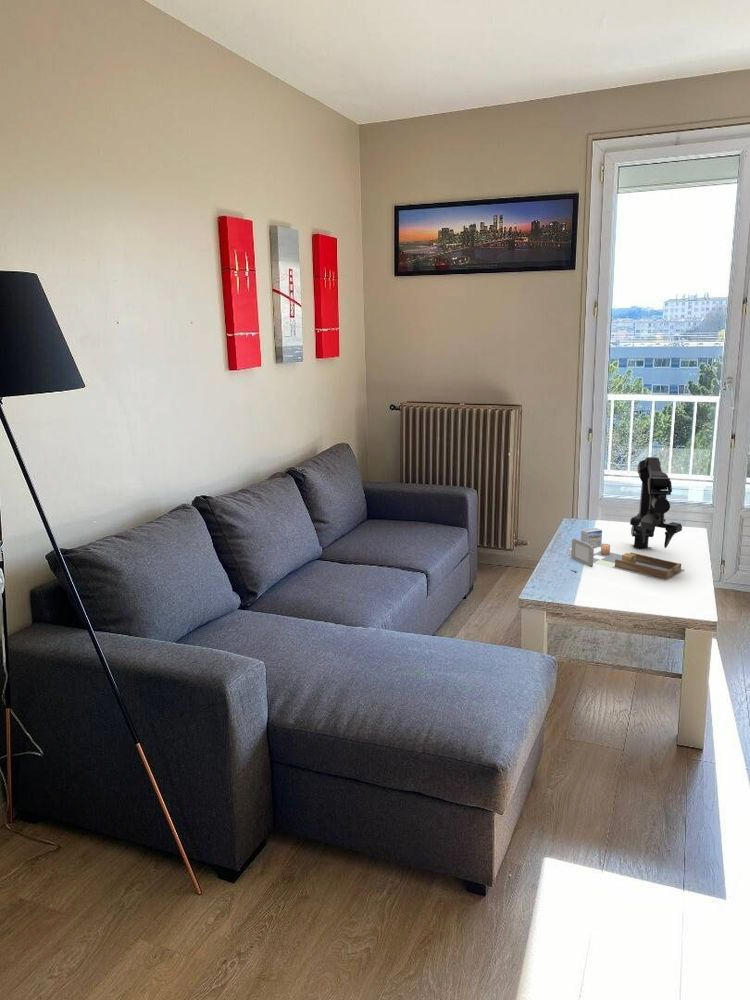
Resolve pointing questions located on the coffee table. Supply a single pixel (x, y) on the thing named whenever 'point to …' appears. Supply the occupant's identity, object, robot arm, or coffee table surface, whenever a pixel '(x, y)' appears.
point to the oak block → (629, 558)
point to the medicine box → (592, 537)
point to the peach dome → (605, 549)
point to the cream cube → (570, 551)
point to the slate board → (610, 562)
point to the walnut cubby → (671, 566)
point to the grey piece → (582, 552)
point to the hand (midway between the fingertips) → (654, 545)
